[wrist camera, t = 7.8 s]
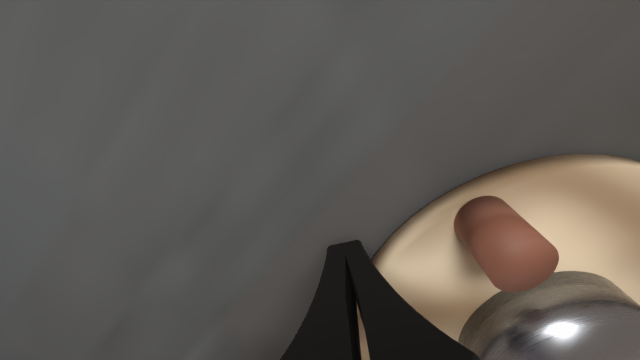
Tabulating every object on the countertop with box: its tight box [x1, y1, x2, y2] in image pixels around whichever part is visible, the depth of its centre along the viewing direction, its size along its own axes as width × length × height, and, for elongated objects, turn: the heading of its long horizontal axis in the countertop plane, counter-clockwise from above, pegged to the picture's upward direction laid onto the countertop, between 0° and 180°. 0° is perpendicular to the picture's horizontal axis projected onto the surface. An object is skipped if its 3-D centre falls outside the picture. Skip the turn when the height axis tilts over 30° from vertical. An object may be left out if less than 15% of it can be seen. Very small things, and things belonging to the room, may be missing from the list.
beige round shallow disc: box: [356, 154, 640, 360], centre depth 17 cm, size 20×20×4 cm
